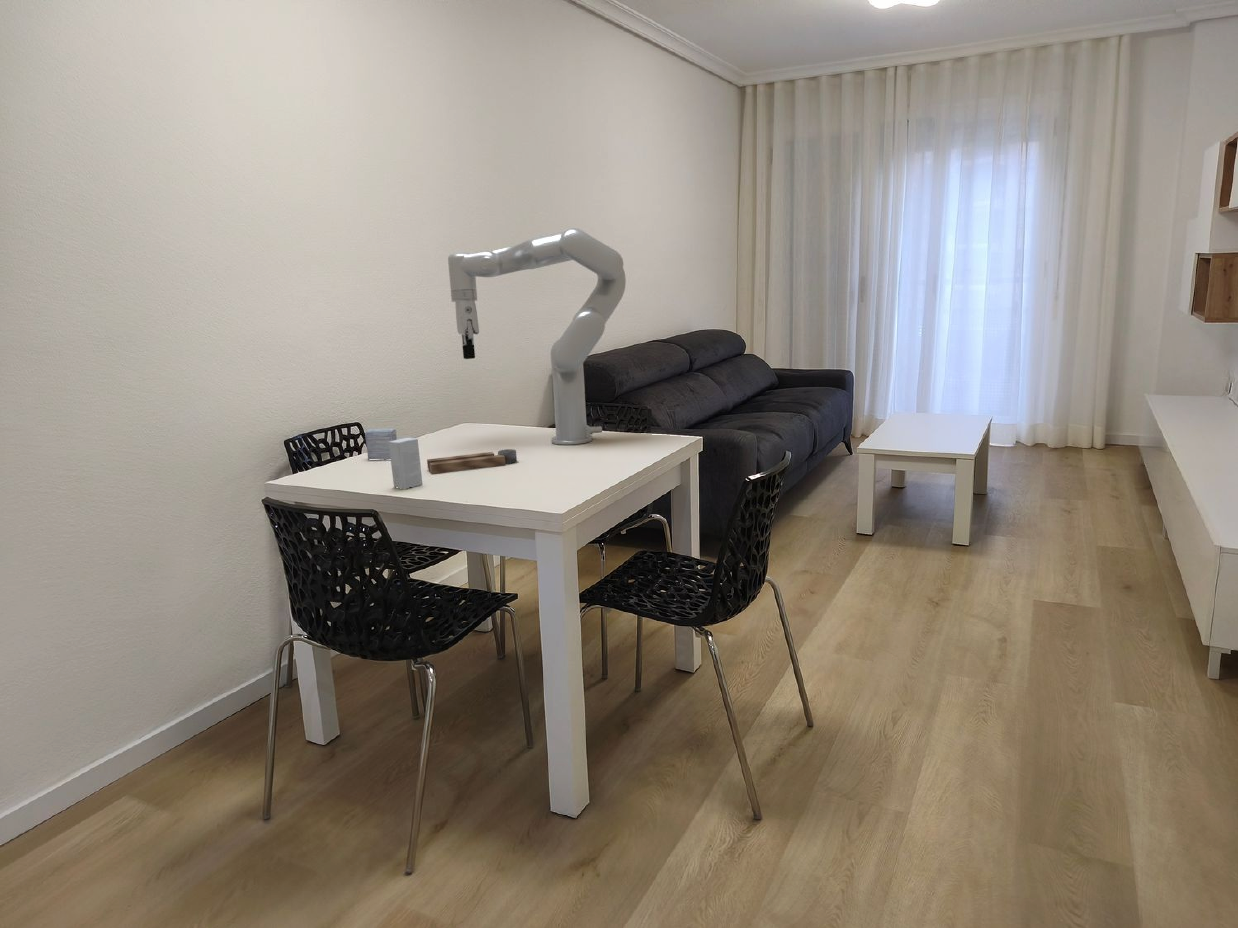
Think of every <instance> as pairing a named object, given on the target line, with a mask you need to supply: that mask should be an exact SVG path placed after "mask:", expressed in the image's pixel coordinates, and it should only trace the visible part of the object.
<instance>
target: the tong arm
mask: <svg viewBox="0 0 1238 928" xmlns="http://www.w3.org/2000/svg"><path fill="white" fill-rule="evenodd" d="M494 455H495V453H494V452H493V451H488V452H487V451H486V452H481V453H480V452H479V453H471V454H463V455H453V456H446V457H445V456H444V457H437V458H436V457H435V458H430V459H426V464H427V469H428V470H429V471H430V465H429V463H434V462H442V461H451V460H460V459H468V458H477V457H485V456H494Z"/></svg>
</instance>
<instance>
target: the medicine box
mask: <svg viewBox="0 0 1238 928" xmlns="http://www.w3.org/2000/svg"><path fill="white" fill-rule="evenodd" d="M364 433H365V434H364V435H365V444H366V452H367V460H368V459H391V458H390V449H389V441H394V440H398V438H397V429H396V428H376V429H375V428H371V429H368V430H367V431H365V432H364Z"/></svg>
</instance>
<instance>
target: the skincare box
mask: <svg viewBox="0 0 1238 928" xmlns="http://www.w3.org/2000/svg"><path fill="white" fill-rule="evenodd" d="M389 449H390V458H391V460H390V464H391V472H392V482H393V483H392V484H393V488H394V487H398V488H401V489H400V490H402V489H405V490H407V489H406V488H408V489H410V488H409V487H412V488H415V487H418V486H422V485H423V475H422V467H421V465H422V464H421V458H420V449H419V439H418V438H414V437H404V438H399V439H398V438H397V440H394V441H389Z"/></svg>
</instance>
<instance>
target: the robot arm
mask: <svg viewBox="0 0 1238 928" xmlns="http://www.w3.org/2000/svg"><path fill="white" fill-rule="evenodd" d="M570 261H574V262H576V263H577V264H579V265H581V266H582V267H584V268H585V269H587V270H588V271H591V272H592V273H594V274H596V276H597V282H596V285H595V287H594V289H593V290H592V291H591V293H590V295H589V297H587V299H586V301H585V302H584V304H583V305H582V306H581V308H580V309H579V310H578V311H577V312H576V313H575V314H574V316H573V318H572V321H571V322H570V324H569V325H568V326H567V328H566V329H565V331H564V332H563V334H562V335H561V336H560V338H558V339H557V340H556V341H555V342H554V343H553V344H552V346H551V349H550V363H551V373H552V375H551V377H552V391H553V408H554V423H555V436H553V437H551V438H550V439H551V440H550V442H551V443H552V444H555V445H561V446H562V445H564V446H565V445H567V446H568V445H581V444H585V443H589V442H591V441H593V436H592V435H593V434H600V433H602V432H603V428H602V426H601V425H600V426H590V425H588V424H587V409H586V393H585V392H586V390H585V388H586V387H585V374H584V373H585V372H584V362H585V361H586V359H587V358H588V357H589V355H590V354H591V352H592V351H593V350H594V348H595V346H596V345H597V344H598V343H599V340H600V339H601V338H602V336H603V335H604V333H605V329H606V324H607V321H609V319H610V317H611V316H612V314H613V313H614V311H615V310H616V308H617V307H618V306H619V303H620V302H621V300H622V299H623V296H624V294H625V290H626V283H627V282H626V281H627V280H626V273H625V269H624V259H623V257H622V255H621V254H620V253H619V252H618V251H617V250H615V249H614V248H612V247H610V246H609V245H607V244H605V243H603V242H602V241H601V240H598V239H597V238H595V237H594V236H592V235H590V234H589V233H587V232H585V231H584V230H582V229H579V228H570V229H568V230H565V231H561V232H557V233H552V234H548V235H547V234H546V235H544V236H539V237H534V238H530V239H527V240H525V241H523V242H521V243H518V244H515V245H512V246H509V247H504V248H500V249H496V250H491V251H490V250H485V251H479V252H474V253H470V252H460V253H459V252H458V253H451V254H449V255H448V258H447V262H448V273H449V274H448V275H449V284H450V285H449V286H450V287H449V288H450V299H451V302H452V303H454V305H455V319H456V329H457V333H458V334H459V335H461V340H462V341H461V342H462V354H463V355H462V357H463V359H465V360H472V359H475V358H476V352H475V351H476V350H475V344H474V342H475V339H474V335H479V333H480V325H479V319H478V311H477V306H476V301H478V294H477V293H478V291H477V279H476V278H477V277H479V278H480V277H481V278H494V277H499V276H503V275H506V274H511V273H512V274H513V273H516V272H520V271H521V272H522V271H527V270H535V269H540V268H544V267H548V266H551V265H556V264H561V263H566V262H570Z"/></svg>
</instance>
